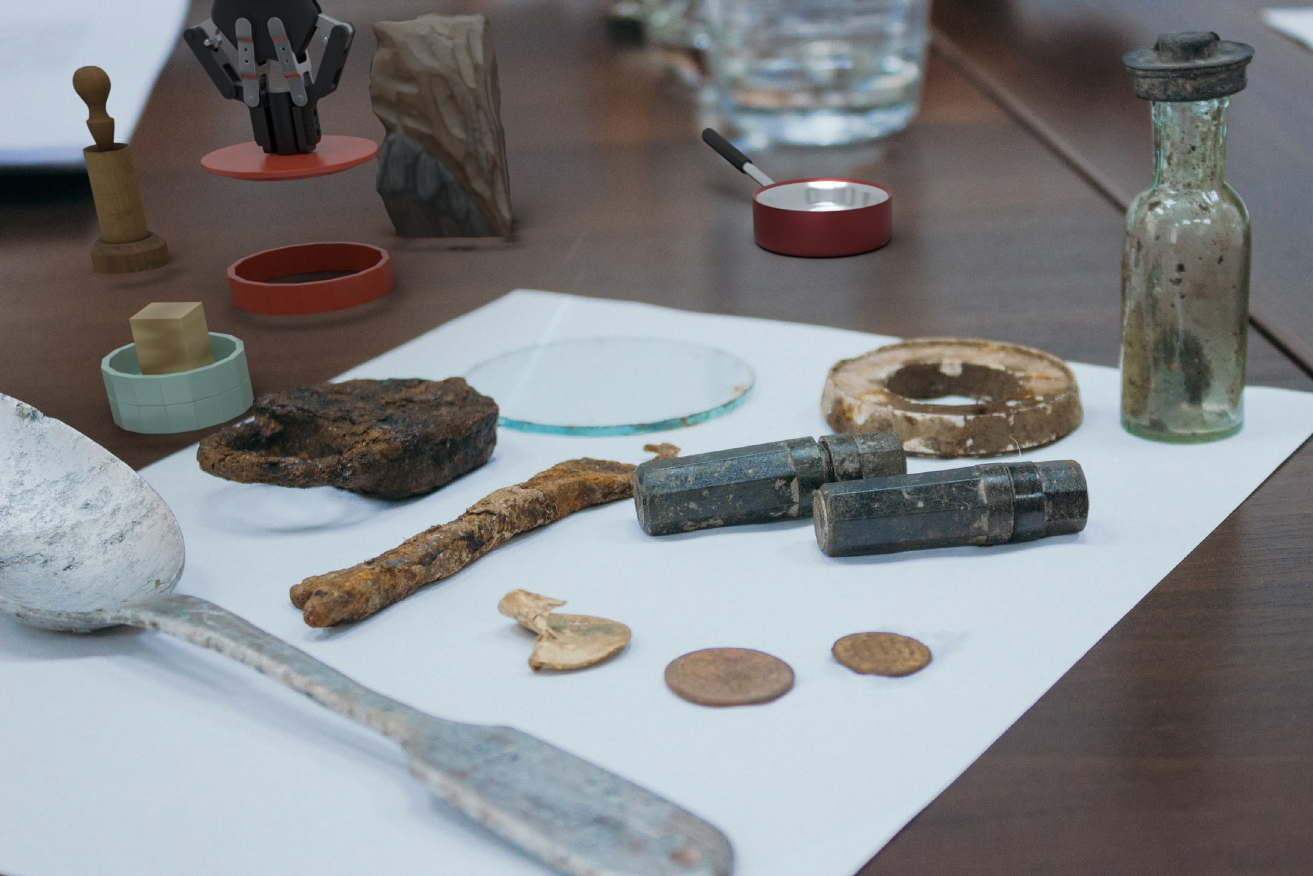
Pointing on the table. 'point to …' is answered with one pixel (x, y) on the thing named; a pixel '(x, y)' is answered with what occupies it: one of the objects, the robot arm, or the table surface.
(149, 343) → the block
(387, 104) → the two-tone stone chunk
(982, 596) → the table surface
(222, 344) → the bowl
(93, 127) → the mortar and pestle
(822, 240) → the frying pan
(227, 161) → the pan lid
